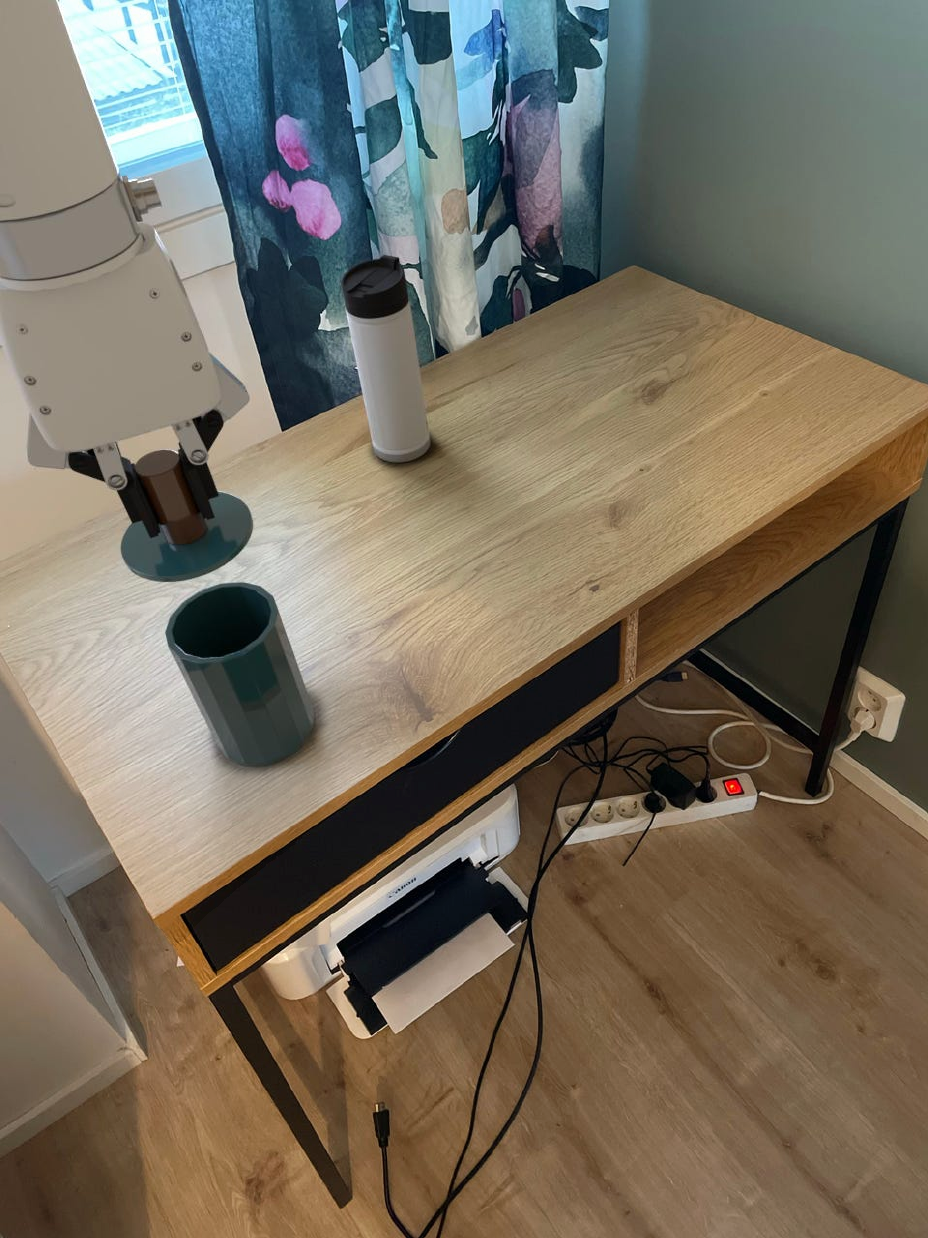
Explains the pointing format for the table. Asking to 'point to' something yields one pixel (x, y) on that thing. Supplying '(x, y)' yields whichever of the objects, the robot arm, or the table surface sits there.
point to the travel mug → (387, 357)
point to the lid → (182, 525)
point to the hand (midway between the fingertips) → (178, 513)
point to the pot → (242, 672)
